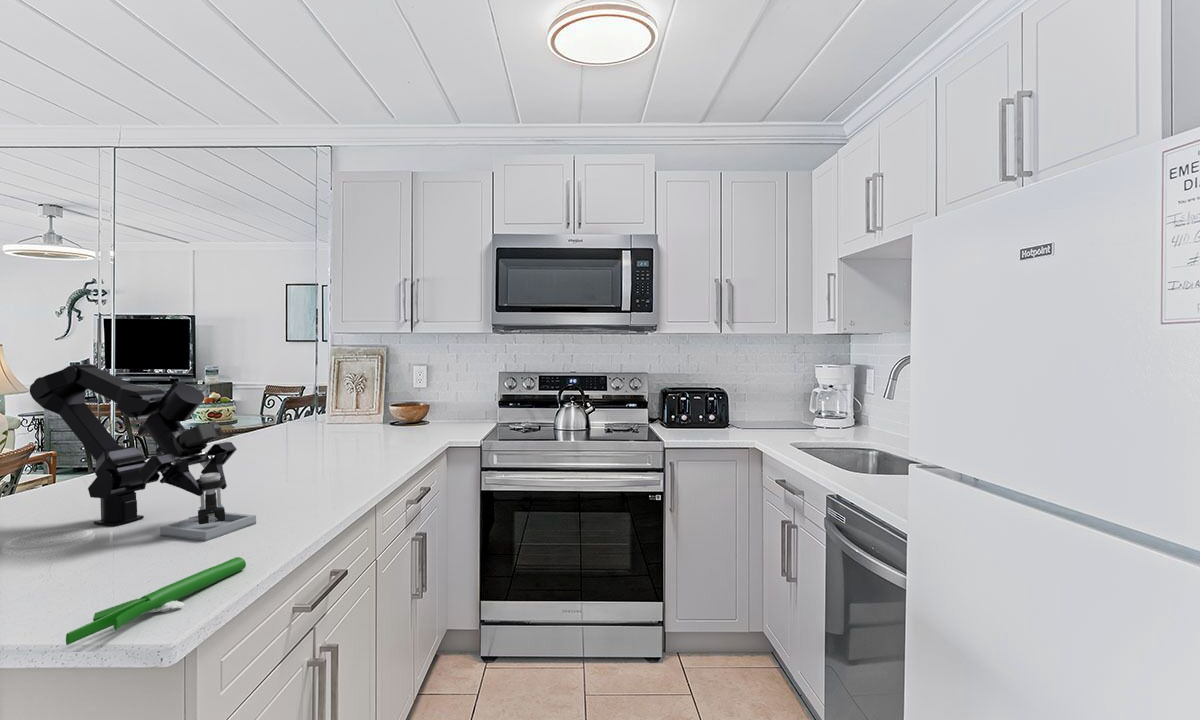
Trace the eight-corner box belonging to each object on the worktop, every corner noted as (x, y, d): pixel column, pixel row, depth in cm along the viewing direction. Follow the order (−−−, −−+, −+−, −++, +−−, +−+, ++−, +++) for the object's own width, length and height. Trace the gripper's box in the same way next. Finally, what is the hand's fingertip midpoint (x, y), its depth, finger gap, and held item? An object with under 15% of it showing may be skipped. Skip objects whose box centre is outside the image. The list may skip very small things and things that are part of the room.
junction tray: (160, 535, 123) (160, 527, 123) (213, 519, 135) (212, 511, 135) (206, 541, 120) (205, 532, 120) (256, 523, 132) (256, 515, 132)
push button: (189, 529, 123) (187, 480, 123) (188, 521, 128) (186, 474, 127) (227, 522, 127) (225, 475, 126) (225, 515, 132) (223, 470, 131)
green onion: (227, 575, 105) (50, 654, 75) (228, 556, 105) (51, 627, 75) (253, 576, 104) (85, 657, 75) (254, 557, 105) (86, 630, 75)
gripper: (149, 415, 119) (195, 475, 116) (229, 405, 137) (270, 457, 134) (118, 453, 121) (163, 513, 119) (201, 438, 139) (241, 490, 137)
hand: (213, 491), depth 127 cm, fingers closed on push button, 5 cm apart
